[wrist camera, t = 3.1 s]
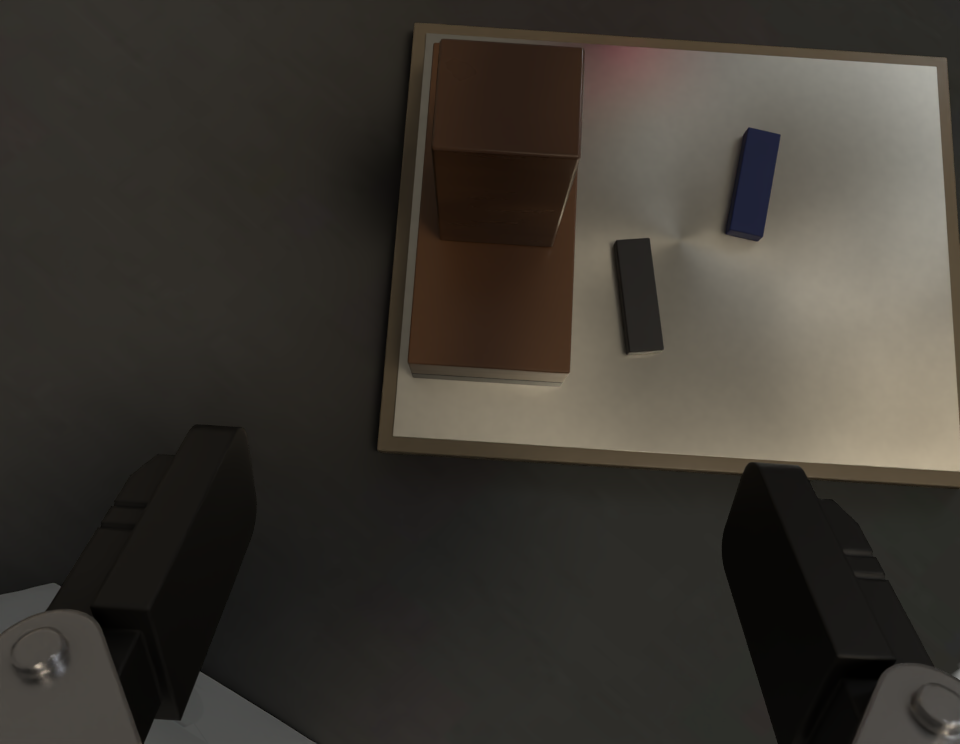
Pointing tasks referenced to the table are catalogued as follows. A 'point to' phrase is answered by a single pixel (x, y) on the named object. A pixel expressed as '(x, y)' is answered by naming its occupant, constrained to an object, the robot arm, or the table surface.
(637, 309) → the block
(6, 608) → the cosmetics box
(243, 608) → the table surface
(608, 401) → the whiteboard
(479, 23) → the table surface
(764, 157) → the bar
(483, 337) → the eraser
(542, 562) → the table surface
